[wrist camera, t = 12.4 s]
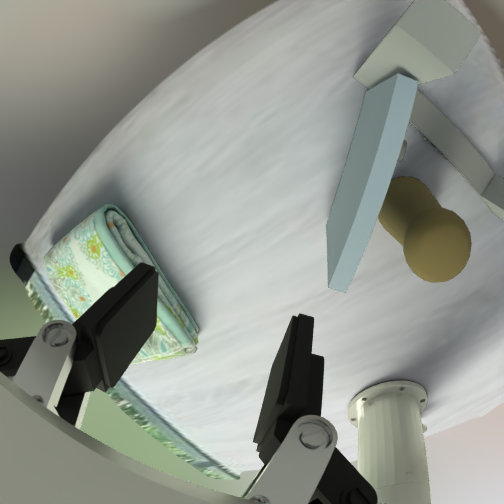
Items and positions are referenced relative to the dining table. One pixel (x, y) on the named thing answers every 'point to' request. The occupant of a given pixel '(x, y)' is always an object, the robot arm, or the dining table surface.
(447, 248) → the cork
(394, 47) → the door frame
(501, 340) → the dining table surface
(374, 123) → the door
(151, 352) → the towel
